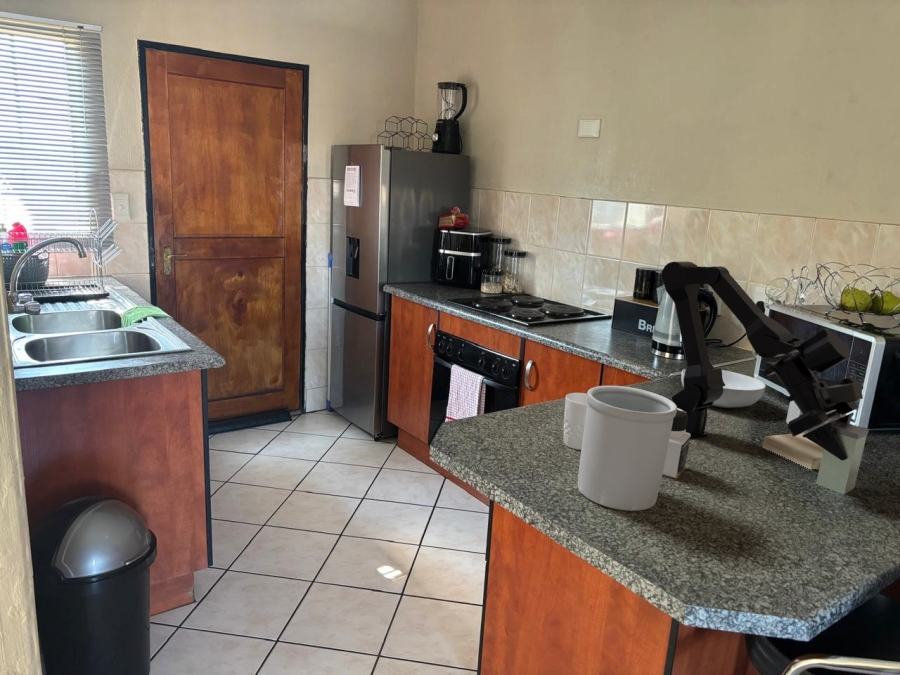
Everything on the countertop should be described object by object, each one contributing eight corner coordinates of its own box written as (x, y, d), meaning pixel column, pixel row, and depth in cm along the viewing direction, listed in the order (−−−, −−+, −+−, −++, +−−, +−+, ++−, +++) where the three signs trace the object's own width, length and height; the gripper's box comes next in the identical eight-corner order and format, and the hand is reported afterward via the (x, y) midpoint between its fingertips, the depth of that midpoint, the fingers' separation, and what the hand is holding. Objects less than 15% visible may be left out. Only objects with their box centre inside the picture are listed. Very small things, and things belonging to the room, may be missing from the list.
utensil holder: (620, 470, 125) (633, 382, 121) (679, 505, 112) (696, 408, 108) (558, 480, 118) (569, 387, 114) (613, 519, 105) (628, 416, 101)
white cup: (605, 446, 136) (611, 400, 134) (585, 455, 131) (591, 407, 128) (573, 434, 142) (579, 390, 139) (552, 442, 136) (558, 396, 134)
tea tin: (844, 494, 122) (858, 434, 119) (815, 484, 126) (828, 425, 123) (854, 488, 125) (868, 429, 123) (826, 478, 129) (839, 420, 126)
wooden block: (810, 472, 133) (813, 458, 132) (761, 449, 143) (764, 436, 143) (850, 466, 137) (853, 453, 137) (800, 445, 148) (803, 432, 147)
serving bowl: (775, 408, 173) (780, 383, 172) (737, 421, 160) (742, 394, 158) (702, 386, 188) (706, 363, 187) (662, 396, 175) (666, 372, 174)
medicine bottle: (676, 479, 123) (687, 418, 120) (639, 468, 126) (648, 409, 124) (685, 467, 129) (695, 409, 126) (649, 457, 132) (658, 400, 130)
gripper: (818, 369, 117) (873, 448, 112) (857, 358, 129) (908, 429, 123) (766, 398, 125) (815, 473, 119) (807, 385, 137) (853, 453, 131)
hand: (850, 456), depth 123 cm, fingers closed on tea tin, 5 cm apart
